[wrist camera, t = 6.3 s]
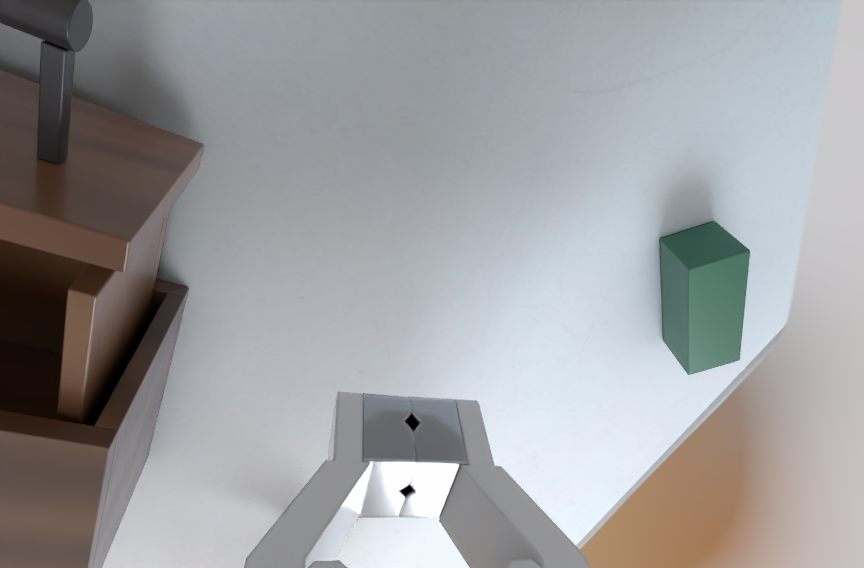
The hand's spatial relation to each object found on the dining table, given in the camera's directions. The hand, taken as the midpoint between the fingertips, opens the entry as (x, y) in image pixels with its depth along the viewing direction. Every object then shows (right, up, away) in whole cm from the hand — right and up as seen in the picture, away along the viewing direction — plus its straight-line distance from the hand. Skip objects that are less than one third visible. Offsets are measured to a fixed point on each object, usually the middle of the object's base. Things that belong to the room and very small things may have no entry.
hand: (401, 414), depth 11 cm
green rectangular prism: (+15, +3, +18) cm, 24 cm away
